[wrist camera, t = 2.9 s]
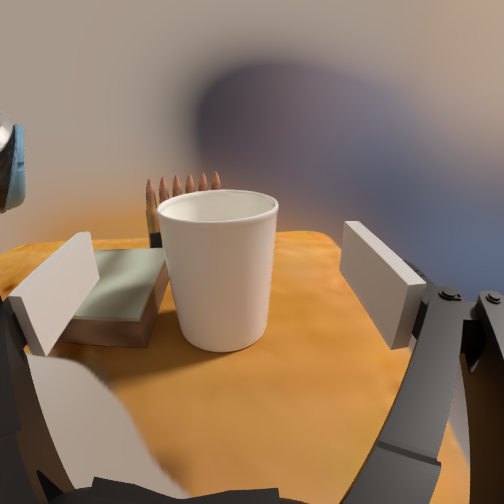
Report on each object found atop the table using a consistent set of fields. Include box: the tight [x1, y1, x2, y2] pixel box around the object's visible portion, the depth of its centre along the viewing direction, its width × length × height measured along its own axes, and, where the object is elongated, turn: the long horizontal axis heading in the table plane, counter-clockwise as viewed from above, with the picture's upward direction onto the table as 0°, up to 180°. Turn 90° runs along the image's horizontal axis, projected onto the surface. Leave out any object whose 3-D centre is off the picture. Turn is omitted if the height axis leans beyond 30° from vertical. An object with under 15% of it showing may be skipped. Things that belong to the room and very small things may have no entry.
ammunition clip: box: [146, 171, 221, 248], centre depth 40 cm, size 11×2×12 cm, turn 115°
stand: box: [57, 248, 169, 348], centre depth 32 cm, size 15×15×3 cm
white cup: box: [156, 190, 279, 352], centre depth 27 cm, size 10×10×12 cm
